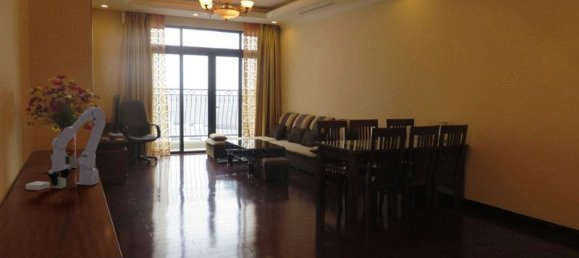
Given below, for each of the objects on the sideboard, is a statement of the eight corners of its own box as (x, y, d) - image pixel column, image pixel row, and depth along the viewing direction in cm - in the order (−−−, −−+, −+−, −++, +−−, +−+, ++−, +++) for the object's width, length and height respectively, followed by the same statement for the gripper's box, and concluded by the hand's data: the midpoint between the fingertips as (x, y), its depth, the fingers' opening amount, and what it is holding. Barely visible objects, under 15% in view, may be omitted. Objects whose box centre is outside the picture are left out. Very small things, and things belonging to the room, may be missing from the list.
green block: (66, 186, 234) (66, 177, 233) (60, 188, 229) (60, 179, 229) (58, 186, 234) (58, 177, 234) (53, 187, 230) (52, 178, 229)
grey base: (49, 187, 231) (49, 182, 231) (39, 191, 223) (39, 185, 223) (36, 186, 232) (36, 181, 232) (25, 189, 224) (25, 184, 224)
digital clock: (52, 172, 268) (52, 155, 267) (48, 169, 274) (48, 153, 273) (79, 169, 279) (79, 153, 278) (75, 167, 285) (75, 151, 284)
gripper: (61, 157, 238) (61, 180, 239) (43, 161, 223) (43, 186, 225) (73, 157, 237) (73, 181, 238) (55, 162, 223) (55, 187, 224)
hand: (59, 184), depth 231 cm, fingers open, 7 cm apart
